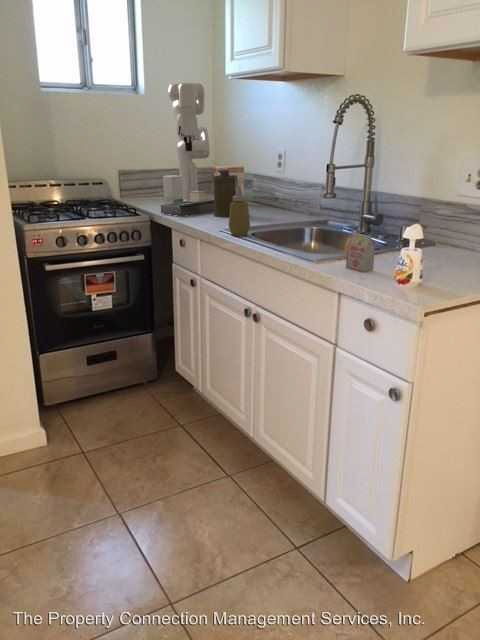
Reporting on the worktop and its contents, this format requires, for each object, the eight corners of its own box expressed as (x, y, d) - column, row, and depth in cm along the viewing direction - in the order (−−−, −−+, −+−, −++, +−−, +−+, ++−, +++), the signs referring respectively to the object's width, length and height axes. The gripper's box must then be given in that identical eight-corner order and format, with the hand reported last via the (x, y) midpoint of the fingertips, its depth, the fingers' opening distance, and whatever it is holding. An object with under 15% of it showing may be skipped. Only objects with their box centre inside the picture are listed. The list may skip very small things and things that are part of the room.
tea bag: (354, 266, 158) (357, 231, 155) (372, 270, 153) (375, 235, 150) (345, 268, 156) (347, 233, 153) (363, 272, 151) (366, 236, 148)
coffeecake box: (243, 204, 286) (243, 165, 280) (244, 205, 280) (244, 166, 273) (215, 204, 286) (214, 165, 280) (215, 206, 279) (214, 166, 273)
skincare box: (172, 208, 272) (171, 176, 267) (163, 207, 276) (161, 176, 271) (184, 206, 278) (183, 175, 273) (175, 205, 282) (173, 174, 277)
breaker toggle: (196, 201, 266) (196, 190, 264) (205, 202, 262) (204, 191, 260) (190, 201, 263) (189, 191, 261) (198, 202, 259) (198, 192, 257)
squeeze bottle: (248, 237, 200) (248, 187, 194) (226, 236, 201) (225, 186, 195) (251, 233, 207) (251, 184, 201) (230, 232, 209) (230, 184, 203)
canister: (216, 217, 244) (215, 171, 238) (212, 214, 254) (210, 169, 247) (239, 216, 247) (239, 170, 240) (234, 213, 256) (234, 169, 250)
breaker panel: (198, 208, 273) (198, 197, 272) (218, 210, 264) (218, 199, 262) (161, 213, 257) (160, 202, 255) (180, 216, 248) (180, 205, 246)
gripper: (193, 111, 271) (194, 150, 277) (170, 111, 261) (172, 151, 267) (203, 111, 266) (205, 150, 272) (180, 110, 256) (182, 151, 262)
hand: (188, 151), depth 269 cm, fingers closed
